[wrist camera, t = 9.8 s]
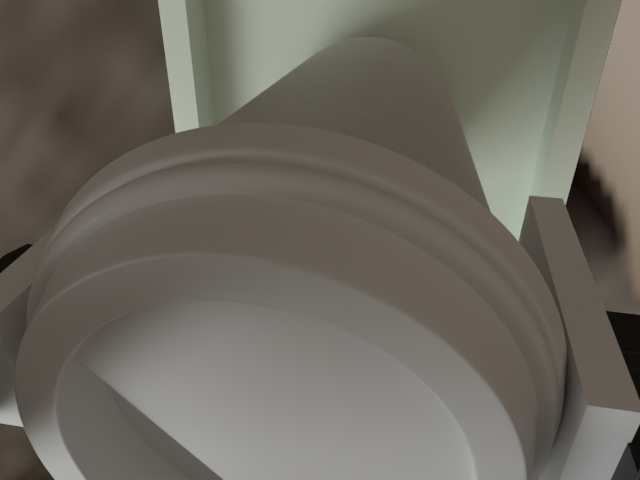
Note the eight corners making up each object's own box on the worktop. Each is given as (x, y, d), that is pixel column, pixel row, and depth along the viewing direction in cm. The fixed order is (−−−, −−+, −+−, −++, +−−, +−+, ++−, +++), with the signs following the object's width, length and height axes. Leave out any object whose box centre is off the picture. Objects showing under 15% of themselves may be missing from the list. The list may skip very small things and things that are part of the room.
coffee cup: (204, 37, 20) (-170, 270, 8) (470, -56, 17) (540, 85, 5) (293, 253, 25) (142, 623, 12) (519, 209, 22) (624, 642, 9)
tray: (171, -146, 19) (138, -151, 17) (636, -145, 17) (662, -150, 15) (215, 262, 28) (196, 291, 26) (523, 299, 26) (530, 334, 24)
